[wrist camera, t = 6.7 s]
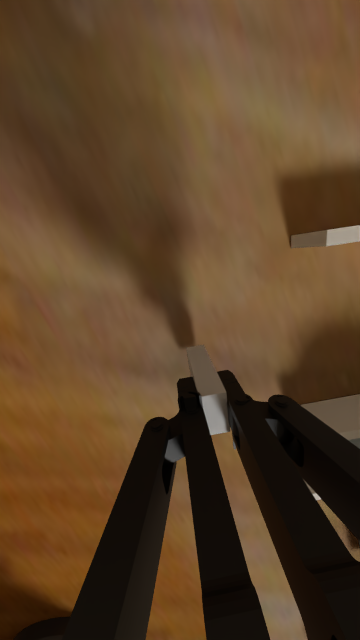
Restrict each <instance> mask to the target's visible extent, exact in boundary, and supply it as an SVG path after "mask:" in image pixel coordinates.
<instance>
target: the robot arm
mask: <svg viewBox="0 0 360 640" xmlns="http://www.w3.org/2000/svg"><path fill="white" fill-rule="evenodd" d="M186 349H187V356H188V363H189V369H190V376H191V377H188V378H182V379H179V381H178V382H177V388H178V404H179V412H178V414H177V415H176V416H175V417H173V418H171V419H169V420H167V419H165V418H164V417H155V418H153V419H151V420H149V421H148V422H147V423H146V425H145V427H144V429H143V432H142V434H141V437H140V440H139V442H138V445H137V447H136V450H135V452H134V455H133V458H132V460H131V463H130V465H129V468H128V470H127V473H126V476H125V478H124V481H123V483H122V486H121V488H120V491H119V493H118V496H117V499H116V501H115V504H114V506H113V509H112V511H111V514H110V517H109V519H108V522H107V524H106V527H105V529H104V532H103V535H102V537H101V540H100V542H99V545H98V547H97V550H96V553H95V555H94V558H93V560H92V563H91V565H90V568H89V571H88V573H87V576H86V578H85V581H84V583H83V586H82V588H81V591H80V594H79V596H78V599H77V601H76V604H75V606H74V609H73V612H72V614H71V617H60V618H53V619H48V620H44V621H41V622H38V623H35V624H33V625H30V626H28V627H27V628H25V629H23V630H22V631H21V632H19V633H18V634H17V635H16V636H15V638H14V639H13V640H145V639H146V633H147V627H148V622H149V616H150V610H151V605H152V599H153V593H154V588H155V582H156V576H157V571H158V565H159V559H160V554H161V548H162V542H163V537H164V531H165V525H166V520H167V514H168V508H169V503H170V497H171V491H172V486H173V480H174V474H175V469H176V461H177V460H179V459H181V458H183V457H185V458H186V466H187V474H188V482H189V490H190V498H191V506H192V515H193V523H194V531H195V539H196V547H197V555H198V563H199V572H200V580H201V588H202V603H203V613H204V622H205V630H206V638H207V640H270V637H269V633H268V630H267V626H266V623H265V619H264V616H263V612H262V609H261V605H260V602H259V599H258V595H257V593H256V590H255V587H254V585H253V584H252V581H251V578H250V575H249V572H248V568H247V565H246V561H245V557H244V554H243V550H242V547H241V543H240V539H239V536H238V532H237V529H236V525H235V521H234V518H233V514H232V510H231V507H230V503H229V500H228V496H227V492H226V489H225V485H224V482H223V478H222V474H221V471H220V467H219V464H218V460H217V456H216V453H215V449H214V446H213V442H212V438H211V435H214V434H219V433H225V432H230V427H231V430H232V436H233V446H234V449H236V448H237V451H238V453H239V456H240V458H241V461H242V464H243V466H244V469H245V471H246V474H247V477H248V479H249V482H250V484H251V487H252V489H253V492H254V495H255V497H256V500H257V502H258V505H259V508H260V510H261V513H262V515H263V518H264V521H265V523H266V526H267V528H268V531H269V534H270V536H271V539H272V541H273V544H274V546H275V549H276V552H277V554H278V557H279V559H280V562H281V565H282V567H283V570H284V572H285V575H286V578H287V580H288V583H289V585H290V588H291V590H292V593H293V596H294V598H295V601H296V603H297V606H298V609H299V611H300V614H301V617H302V620H303V623H304V626H305V630H306V634H307V638H308V640H360V562H359V561H356V560H355V559H354V558H353V557H352V556H351V554H350V553H349V551H348V550H347V548H346V547H345V545H344V543H343V542H342V540H341V539H340V537H339V536H338V534H337V532H336V531H335V529H334V528H333V526H332V524H331V523H330V521H329V520H328V518H327V516H326V515H325V513H324V512H323V510H322V509H321V507H320V505H319V504H318V502H317V501H316V499H315V497H314V496H313V494H312V493H311V491H310V489H309V488H308V486H307V485H306V483H307V484H308V485H309V486H310V487H311V488H312V489H313V490H314V491H315V493H316V494H317V495H318V496H319V497H320V498H321V499H322V500H323V501H324V502H325V504H326V505H327V506H328V507H329V508H330V509H331V510H332V511H333V512H334V513H335V514H336V516H337V517H338V518H339V519H340V520H341V521H342V522H343V523H344V524H345V525H346V527H347V528H348V529H349V530H350V531H351V532H352V533H353V534H354V535H355V536H356V538H357V539H358V540H359V541H360V449H359V448H358V447H357V446H355V445H354V444H353V443H351V442H350V441H348V440H347V439H346V438H344V437H343V436H342V435H340V434H339V433H338V432H336V431H335V430H333V429H332V428H331V427H329V426H328V425H327V424H325V423H324V422H323V421H321V420H320V419H318V418H317V417H316V416H314V415H313V414H312V413H310V412H309V411H308V410H306V409H305V408H303V407H302V406H301V405H299V404H298V403H297V402H295V401H294V400H293V399H291V398H289V397H287V396H284V395H273V396H271V397H270V398H269V400H268V402H259V401H254V400H253V399H252V398H251V397H250V396H249V395H247V394H245V393H244V391H243V389H242V388H241V386H240V384H239V383H238V381H237V379H236V378H235V376H234V374H233V373H232V372H230V371H229V370H224V371H219V372H217V371H216V369H215V367H214V365H213V363H212V361H211V359H210V357H209V354H208V352H207V350H206V348H205V346H204V345H198V346H192V347H187V348H186ZM303 479H304V480H305V481H304V480H303ZM305 482H306V483H305Z"/></svg>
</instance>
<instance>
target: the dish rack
mask: <svg viewBox="0 0 360 640" xmlns="http://www.w3.org/2000/svg"><path fill="white" fill-rule="evenodd" d="M358 241H360V225H357V226H350V227H344V228H337V229H330V230H323V231H317V232H310V233H304V234H297V235H291V248H304V247H322V246H331V245H338V244H345V243H351V242H358ZM301 406H302V407H303V408H305V409H306V410H308V411H309V412H310V413H312V414H313V415H314V416H316V417H317V418H318V419H320V420H321V421H323V422H324V423H325V424H327V425H328V426H329V427H331V428H332V429H333V430H335V431H336V432H338V433H339V434H340V435H342V436H343V437H344V438H346V439H347V440H351V439H357V438H360V394H358V395H352V396H347V397H341V398H335V399H330V400H324V401H319V402H313V403H308V404H302V405H301ZM303 480H304V479H303ZM304 481H305V480H304ZM305 483H306V482H305ZM306 485H307V486H308V488H309V489H310V491H311V493H312V494H313V496H314V497H315V499H316V500H320V499H321V498H320V497H319V496H318V495H317V494H316V493H315V491H314V490H313V489H312V488H311V487H310V486H309V485H308V484H307V483H306Z"/></svg>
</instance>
